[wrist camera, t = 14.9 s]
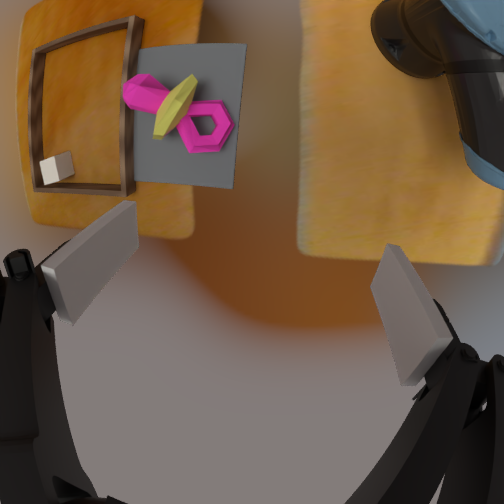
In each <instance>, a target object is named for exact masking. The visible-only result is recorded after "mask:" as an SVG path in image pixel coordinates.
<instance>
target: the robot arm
mask: <svg viewBox="0 0 504 504" xmlns="http://www.w3.org/2000/svg"><path fill="white" fill-rule="evenodd" d="M371 31H372V35H373V38H374V40H375V43H376V44H377V46H378V48H379V50H380V51H381V52H382V54H383V55H384V56H385V57H386V59H387V60H388V61H389V62H390V63H392V64H393V65H394V66H395V67H396V68H398V69H399V70H401V71H403V72H404V73H406V74H408V75H411V76H414V77H418V78H433V77H438V76H441V75H443V74H445V73H446V76H447V79H448V82H449V86H450V90H451V93H452V97H453V101H454V105H455V109H456V114H457V118H458V123H459V128H460V132H459V135H460V139H461V141H462V143H463V148H464V154H465V159H466V162H467V164H468V166H469V167H470V169H471V170H472V172H473V173H474V174H475V175H476V176H477V177H479V178H480V179H481V180H483V181H484V182H486V183H488V184H490V185H492V186H494V187H497V188H499V189H502V190H504V0H384V1H382V2H381V3H380V4H379V5H378V6H377V7H376V8H375V10H374V12H373V14H372V17H371ZM138 248H139V243H138V229H137V212H136V202H135V201H126V200H124V201H122V202H121V203H119V204H118V205H116V206H115V207H114V208H112V209H111V210H109V211H108V212H107V213H105V214H104V215H103V216H101V217H100V218H98V219H97V220H96V221H94V222H93V223H92V224H90V225H89V226H88V227H86V228H85V229H84V230H83V231H81V232H80V233H79V234H77V235H76V236H75V237H74V238H72V239H70V240H68V241H66V242H64V243H63V244H62V245H61V246H59V247H58V249H56V250H55V251H53V252H52V254H50V255H49V256H48V257H46V258H45V259H44V260H43V261H42V262H41V263H39V264H38V265H37V266H36V267H35V268H34V264H33V261H32V258H31V254H30V251H29V250H28V249H18V250H15V251H13V252H11V253H9V254H8V255H7V256H6V257H5V259H4V260H3V263H4V266H5V268H6V271H7V274H8V277H3V276H2V273H1V270H0V501H1V504H127V503H125V502H122V501H120V500H117V499H115V498H113V497H110V496H107V498H99V497H98V496H97V493H96V491H95V489H94V487H93V484H92V482H91V481H90V479H89V477H88V476H87V475H86V473H85V472H84V470H83V469H82V467H81V465H80V462H79V459H78V456H77V453H76V450H75V446H74V443H73V439H72V436H71V432H70V428H69V424H68V420H67V416H66V411H65V407H64V401H63V397H62V391H61V385H60V379H59V372H58V364H57V355H56V346H55V333H54V320H53V317H52V314H53V313H54V312H55V310H56V311H57V314H58V316H59V319H60V321H62V322H65V323H67V324H70V325H72V326H73V325H74V324H75V323H76V321H77V320H78V319H79V317H80V316H81V315H82V314H83V312H84V311H85V310H86V309H87V307H88V306H89V305H90V304H91V302H92V301H93V300H94V299H95V297H96V296H97V295H98V294H99V292H100V291H101V290H102V289H103V287H104V286H105V285H106V284H107V283H108V282H109V280H110V279H111V278H112V277H113V276H114V275H115V273H116V272H117V271H118V270H119V269H120V268H121V267H122V265H123V264H124V263H125V262H126V261H127V260H128V259H129V258H130V257H131V255H132V254H133V253H134V252H135V251H136V250H137V249H138ZM370 288H371V290H372V294H373V296H374V299H375V302H376V305H377V308H378V310H379V313H380V316H381V319H382V322H383V325H384V329H385V331H386V334H387V338H388V341H389V345H390V348H391V351H392V354H393V358H394V361H395V365H396V369H397V372H398V376H399V380H400V383H401V386H415V385H417V384H418V383H419V382H420V380H421V379H422V378H423V377H425V380H426V384H425V385H424V387H423V388H422V389H421V390H420V391H419V392H418V393H417V394H416V395H415V396H414V398H413V400H415V399H416V398H417V399H416V401H415V403H414V405H413V407H412V408H411V410H410V412H409V414H408V416H407V417H406V419H405V421H404V423H403V424H402V426H401V428H400V429H399V431H398V432H397V434H396V436H395V437H394V439H393V440H392V442H391V444H390V445H389V447H388V448H387V450H386V451H385V453H384V454H383V456H382V457H381V458H380V460H379V461H378V463H377V464H376V465H375V467H374V468H373V469H372V471H371V472H370V473H369V475H368V476H367V477H366V479H365V480H364V481H363V482H362V484H361V485H360V486H359V487H358V489H357V490H356V491H355V492H354V493H353V494H352V496H351V497H350V498H349V499H348V500H347V501H346V503H345V504H429V503H430V501H431V499H432V498H433V496H434V494H435V492H436V490H437V488H438V486H439V484H440V482H441V480H442V478H443V476H444V474H445V476H444V480H443V484H442V488H441V491H440V495H439V498H438V501H437V504H504V357H503V356H501V355H498V354H497V355H494V356H493V358H492V359H491V360H490V361H489V362H485V361H482V360H480V358H479V356H478V354H477V352H476V351H475V349H474V348H472V347H471V346H470V345H468V344H466V343H461V342H460V340H459V338H458V336H457V334H456V332H455V330H454V328H453V326H452V325H451V323H450V322H449V319H448V317H447V316H446V314H445V312H444V310H443V308H442V306H441V305H440V304H439V303H438V302H437V301H436V300H435V299H432V297H431V296H430V294H429V292H428V290H427V289H426V287H425V285H424V284H423V282H422V280H421V279H420V277H419V275H418V274H417V272H416V271H415V269H414V268H413V266H412V264H411V263H410V261H409V260H408V258H407V257H406V255H405V254H404V252H403V251H402V249H401V248H400V246H397V245H392V244H388V243H387V245H386V248H385V251H384V253H383V256H382V258H381V261H380V264H379V266H378V269H377V271H376V274H375V276H374V279H373V281H372V283H371V286H370ZM486 402H487V406H486V408H485V410H483V411H482V406H483V405H484V404H485V403H486Z"/></svg>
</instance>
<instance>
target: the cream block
mask: <svg viewBox="0 0 504 504" xmlns="http://www.w3.org/2000/svg"><path fill="white" fill-rule="evenodd" d="M40 167H41V172H42V176H43V180H44V185H47V184H50V183H54V182H57V181H60V180H62V179H65V178H67V177H69V176H71V175H73V174H75V173H74V168H73V163H72V158H71V153H70V151H67V152H64V153H62V154H59V155H56V156H53V157H51V158H48V159H45V160H43V161H40Z"/></svg>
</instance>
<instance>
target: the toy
mask: <svg viewBox="0 0 504 504" xmlns="http://www.w3.org/2000/svg"><path fill="white" fill-rule="evenodd" d="M197 83H198V81H197V79H196V78H195V77H194V75H193V74H191V75H190V76H189V77H187V78H186V79H185V80H184V81H182V82H181V83H180V84H179V85H177V86H176V87H175V88H174V89H173V90H171V91H169V90H168V89H167V88H166V87H164V86H163V85H162V84H161V83H160V82H159V81H157V80H156V79H155V78H154V77H153V76H151V75H150V74H137V75H136V76H134V77H133V78H131V79H130V80H128V81H127V82H125V83H124V84H123V99H124V101H125V103H126V104H127V105H128V106H129V108H130V109H134V110H138V111H143V112H147V113H152V114H156V121H155V127H154V133H153V139H159V140H162V139H163V138H164V137H165V136H166V135H167V134H168V133H169V132H170V131H171V130H173V129H174V128H175V127H176V128H177V130H178V132H179V134H180V136H181V138H182V140H183V142H184V144H185V146H186V148H187V150H188V152H189V153H200V152H217V151H220V149H221V147H222V146H223V144H224V142H225V140H226V139H227V137H228V135H229V134H230V132H231V130H232V129H233V127H234V123H233V121H232V119H231V117H230V115H229V113H228V111H227V109H226V108H225V106H224V104H223V102H222V100H207V101H192V100H193V96H194V93H195V89H196V86H197ZM200 116H211V118H212V120H213V122H214V124H215V128H214V130H213V131H212V133H211V135H204V136H200V135H199V133H198V131H197V129H196V127H195V125H194V123H193V122H192V120H191V118H190V117H200Z"/></svg>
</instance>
